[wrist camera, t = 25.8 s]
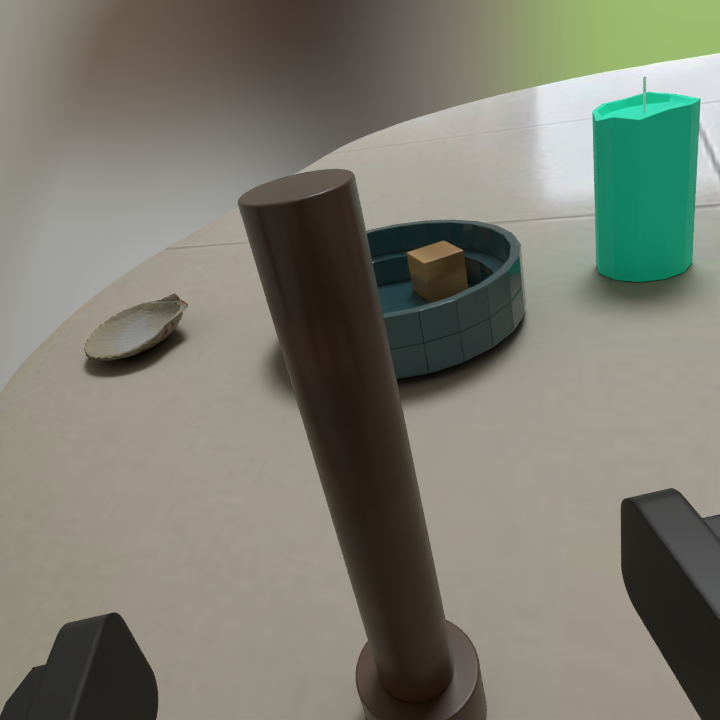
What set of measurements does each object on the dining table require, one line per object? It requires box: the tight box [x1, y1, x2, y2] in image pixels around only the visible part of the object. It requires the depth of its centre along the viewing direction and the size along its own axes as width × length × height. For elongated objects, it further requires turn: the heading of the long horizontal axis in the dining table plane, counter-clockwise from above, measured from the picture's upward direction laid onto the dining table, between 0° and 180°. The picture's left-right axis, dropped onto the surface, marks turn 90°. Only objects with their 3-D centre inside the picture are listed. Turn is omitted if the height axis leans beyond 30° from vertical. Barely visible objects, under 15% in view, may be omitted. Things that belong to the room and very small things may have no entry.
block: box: [407, 241, 468, 303], centre depth 44 cm, size 3×3×3 cm
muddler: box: [238, 169, 487, 720], centre depth 15 cm, size 4×4×16 cm
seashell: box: [84, 294, 188, 361], centre depth 48 cm, size 8×3×8 cm
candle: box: [593, 77, 700, 282], centre depth 40 cm, size 6×6×12 cm
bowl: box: [366, 220, 525, 379], centre depth 41 cm, size 16×16×4 cm
